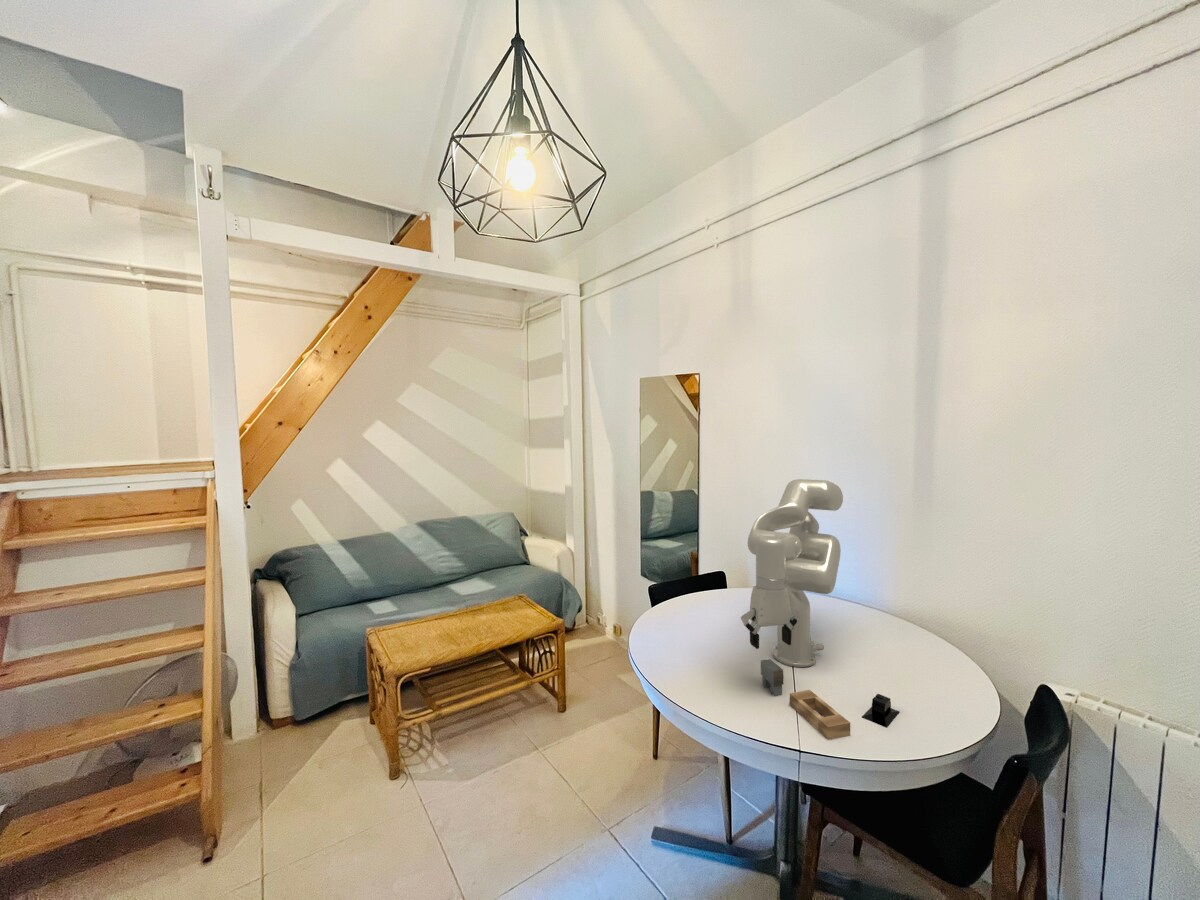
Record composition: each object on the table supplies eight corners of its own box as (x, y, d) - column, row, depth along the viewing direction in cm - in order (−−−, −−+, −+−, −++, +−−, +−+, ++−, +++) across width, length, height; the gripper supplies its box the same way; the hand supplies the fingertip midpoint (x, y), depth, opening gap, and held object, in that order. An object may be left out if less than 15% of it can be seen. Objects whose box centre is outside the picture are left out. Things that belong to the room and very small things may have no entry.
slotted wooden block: (789, 704, 117) (789, 693, 117) (809, 700, 118) (809, 689, 118) (828, 739, 103) (828, 727, 103) (850, 735, 105) (850, 722, 104)
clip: (761, 684, 126) (760, 660, 126) (770, 683, 127) (770, 659, 127) (773, 697, 120) (773, 671, 120) (783, 695, 121) (783, 669, 121)
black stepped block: (875, 700, 119) (875, 683, 118) (907, 713, 113) (907, 695, 113) (855, 720, 111) (855, 702, 111) (889, 735, 105) (889, 716, 105)
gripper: (789, 576, 128) (790, 636, 128) (734, 580, 124) (734, 642, 124) (807, 584, 121) (807, 647, 121) (749, 589, 117) (749, 654, 117)
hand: (770, 644), depth 123 cm, fingers open, 9 cm apart
